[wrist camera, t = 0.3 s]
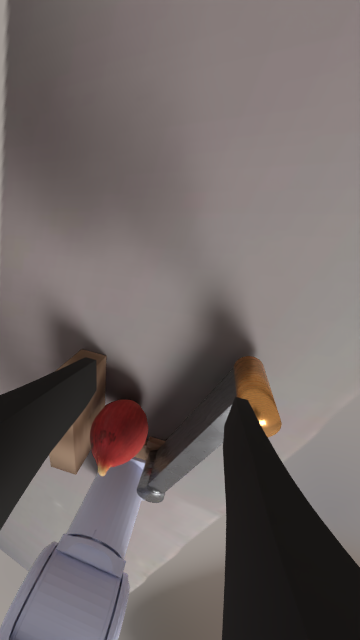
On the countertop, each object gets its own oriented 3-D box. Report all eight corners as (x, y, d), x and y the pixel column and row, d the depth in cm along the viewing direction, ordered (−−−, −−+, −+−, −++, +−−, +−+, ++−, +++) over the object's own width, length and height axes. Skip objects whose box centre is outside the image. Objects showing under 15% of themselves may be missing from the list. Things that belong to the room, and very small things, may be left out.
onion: (104, 402, 26) (59, 468, 19) (125, 376, 23) (82, 439, 16) (141, 427, 26) (111, 500, 19) (165, 404, 24) (141, 477, 17)
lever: (164, 469, 27) (150, 530, 22) (143, 458, 27) (124, 515, 22) (272, 367, 18) (294, 425, 13) (242, 348, 18) (252, 399, 13)
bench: (173, 463, 28) (162, 518, 23) (84, 435, 29) (53, 481, 24) (196, 380, 22) (188, 429, 16) (81, 349, 23) (38, 384, 18)
